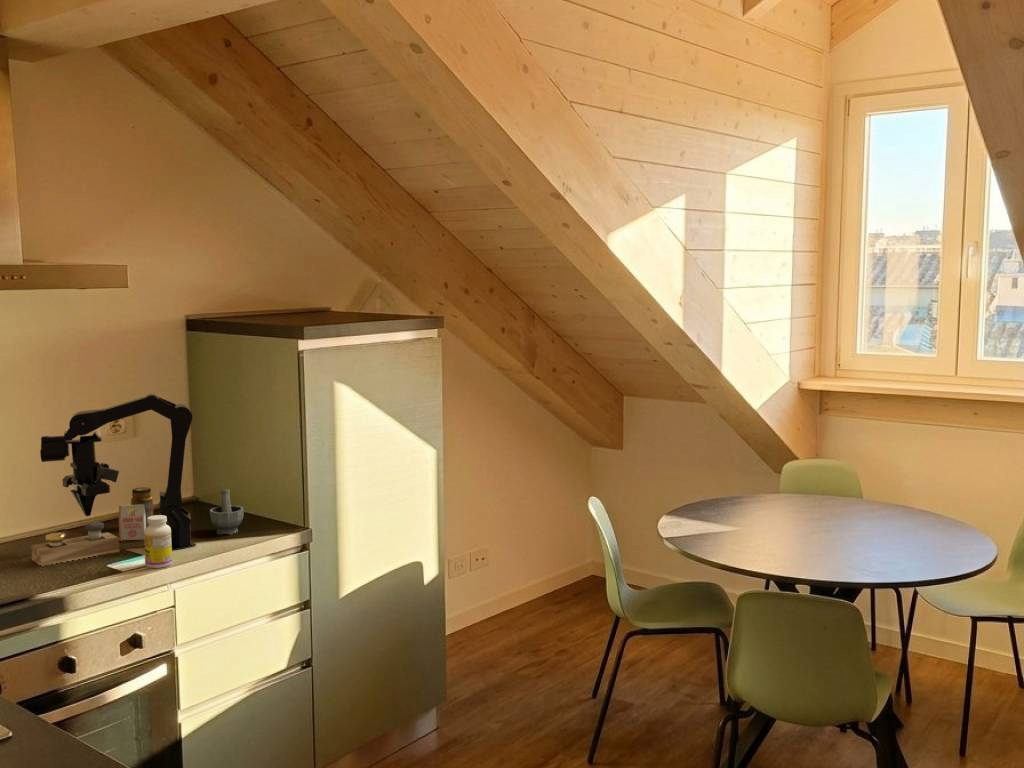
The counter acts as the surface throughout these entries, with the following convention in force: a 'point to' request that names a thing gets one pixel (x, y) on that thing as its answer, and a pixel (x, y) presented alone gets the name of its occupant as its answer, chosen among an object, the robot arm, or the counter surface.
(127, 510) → the white printed box
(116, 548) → the oak block
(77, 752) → the counter surface
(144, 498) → the condiment
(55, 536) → the brass plug
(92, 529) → the grey domed piece
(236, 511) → the mortar and pestle
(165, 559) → the supplement bottle
